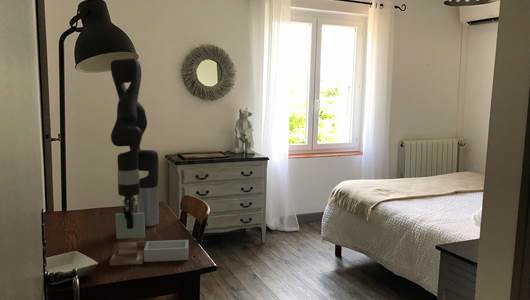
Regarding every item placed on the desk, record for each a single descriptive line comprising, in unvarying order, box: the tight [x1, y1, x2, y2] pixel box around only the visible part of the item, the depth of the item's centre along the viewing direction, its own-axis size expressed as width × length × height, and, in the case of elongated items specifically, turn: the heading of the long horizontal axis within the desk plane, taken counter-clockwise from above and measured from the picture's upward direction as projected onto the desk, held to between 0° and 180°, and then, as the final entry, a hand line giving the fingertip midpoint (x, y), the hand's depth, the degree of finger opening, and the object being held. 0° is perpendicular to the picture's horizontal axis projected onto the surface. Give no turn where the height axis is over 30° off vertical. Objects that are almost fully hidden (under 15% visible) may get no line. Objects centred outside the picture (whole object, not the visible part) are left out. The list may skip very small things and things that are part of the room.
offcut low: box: [115, 249, 138, 261], centre depth 163 cm, size 4×7×2 cm, turn 98°
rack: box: [108, 241, 147, 266], centre depth 168 cm, size 14×11×4 cm
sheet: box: [115, 212, 146, 240], centre depth 172 cm, size 2×10×9 cm, turn 98°
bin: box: [143, 239, 190, 263], centre depth 170 cm, size 9×15×4 cm, turn 98°
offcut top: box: [119, 241, 138, 254], centre depth 163 cm, size 4×6×2 cm, turn 106°
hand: (130, 227), depth 172 cm, fingers closed on sheet, 1 cm apart
